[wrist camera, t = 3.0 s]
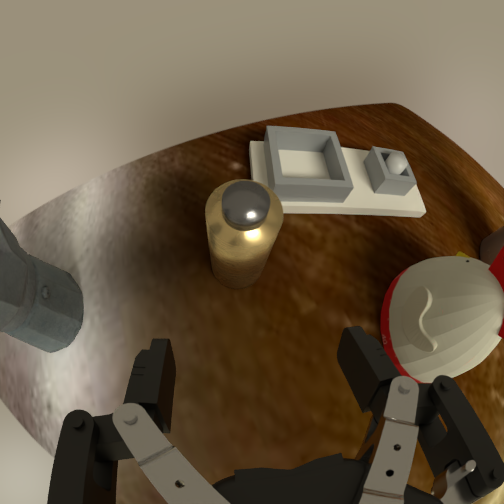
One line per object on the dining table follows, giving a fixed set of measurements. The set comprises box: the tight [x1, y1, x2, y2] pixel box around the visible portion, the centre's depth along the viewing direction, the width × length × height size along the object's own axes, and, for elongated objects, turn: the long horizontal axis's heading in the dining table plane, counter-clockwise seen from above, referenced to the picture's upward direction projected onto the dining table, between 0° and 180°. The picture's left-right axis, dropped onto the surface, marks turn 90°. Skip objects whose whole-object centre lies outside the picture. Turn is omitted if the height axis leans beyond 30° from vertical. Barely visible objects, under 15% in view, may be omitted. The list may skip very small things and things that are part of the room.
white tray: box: [249, 126, 426, 217], centre depth 28 cm, size 22×9×6 cm, turn 94°
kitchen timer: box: [381, 246, 504, 383], centre depth 18 cm, size 14×14×15 cm
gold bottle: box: [205, 179, 283, 289], centre depth 21 cm, size 5×5×11 cm
